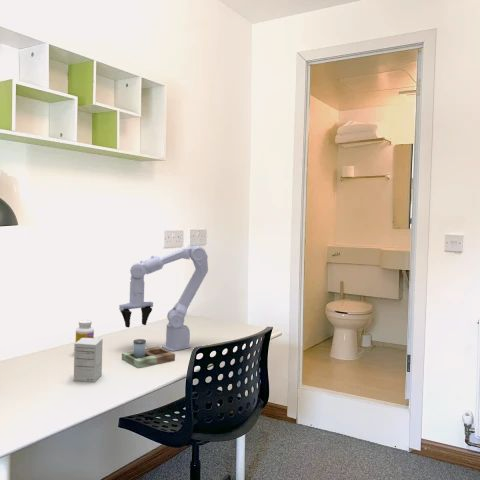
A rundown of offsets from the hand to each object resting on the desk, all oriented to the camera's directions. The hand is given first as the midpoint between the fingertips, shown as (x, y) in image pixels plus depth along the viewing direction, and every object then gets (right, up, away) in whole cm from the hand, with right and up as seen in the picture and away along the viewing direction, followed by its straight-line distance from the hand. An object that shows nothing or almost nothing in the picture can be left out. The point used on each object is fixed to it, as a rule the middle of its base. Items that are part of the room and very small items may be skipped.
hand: (135, 325), depth 194 cm
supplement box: (-8, -11, -35) cm, 38 cm away
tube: (+5, -11, -16) cm, 20 cm away
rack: (+8, -11, -14) cm, 19 cm away
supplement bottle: (-18, -9, -10) cm, 23 cm away
